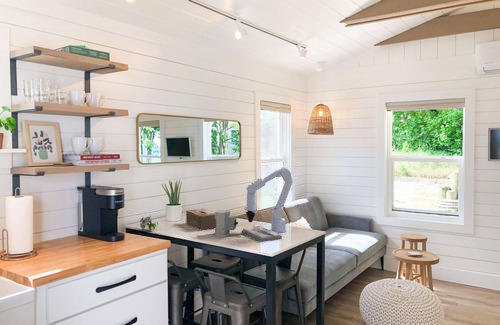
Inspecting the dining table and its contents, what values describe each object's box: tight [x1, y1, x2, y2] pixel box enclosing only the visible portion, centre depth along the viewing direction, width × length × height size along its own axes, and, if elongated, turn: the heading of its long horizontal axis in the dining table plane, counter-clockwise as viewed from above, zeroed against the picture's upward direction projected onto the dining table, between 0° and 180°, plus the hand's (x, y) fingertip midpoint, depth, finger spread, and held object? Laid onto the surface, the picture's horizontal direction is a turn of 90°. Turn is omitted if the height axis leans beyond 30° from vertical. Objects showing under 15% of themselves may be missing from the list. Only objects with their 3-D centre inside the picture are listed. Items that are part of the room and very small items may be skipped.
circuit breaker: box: [214, 209, 239, 237], centre depth 255 cm, size 8×14×15 cm, turn 78°
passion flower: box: [139, 215, 159, 233], centre depth 263 cm, size 11×11×12 cm
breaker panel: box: [241, 226, 283, 243], centre depth 252 cm, size 16×24×3 cm, turn 30°
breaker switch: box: [252, 224, 261, 231], centre depth 257 cm, size 3×4×4 cm
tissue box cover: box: [185, 208, 216, 231], centre depth 280 cm, size 26×14×10 cm, turn 33°
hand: (250, 222), depth 264 cm, fingers closed
